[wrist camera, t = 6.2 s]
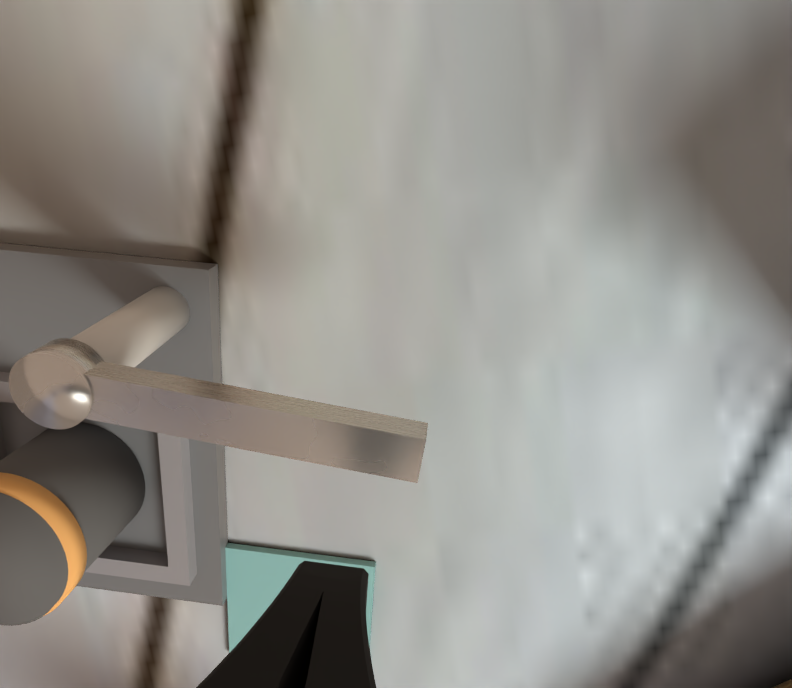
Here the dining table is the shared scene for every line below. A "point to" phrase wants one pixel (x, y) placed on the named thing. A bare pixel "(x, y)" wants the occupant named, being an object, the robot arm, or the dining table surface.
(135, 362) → the socket
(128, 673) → the dining table surface
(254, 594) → the mat
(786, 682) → the brown cylinder
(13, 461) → the plug
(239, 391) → the brushed metal lever
